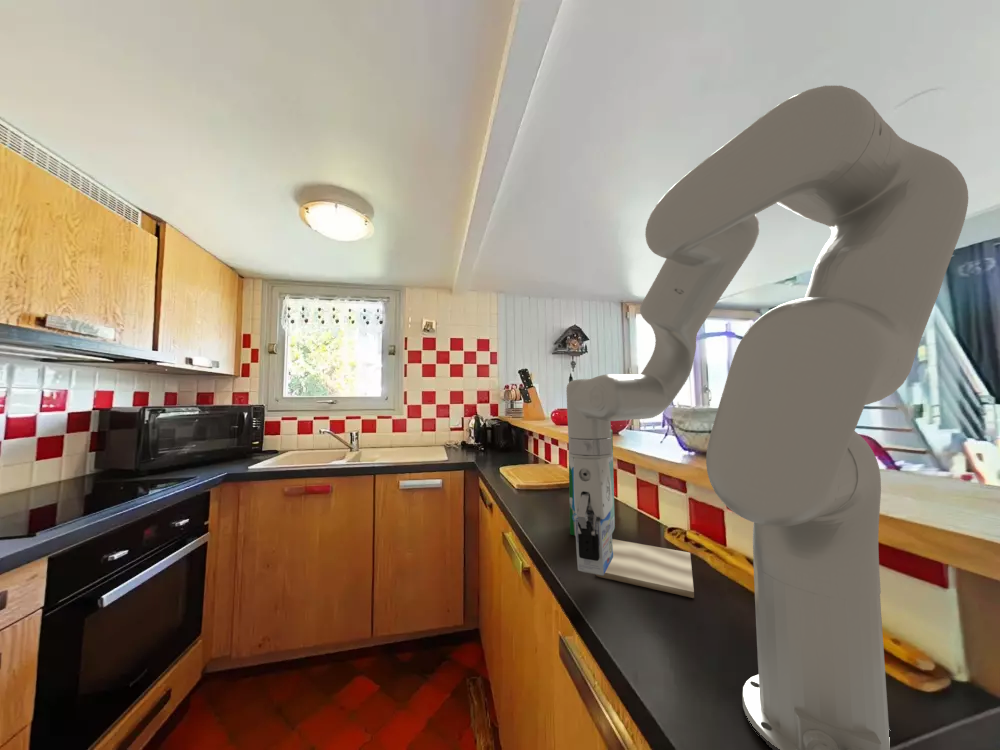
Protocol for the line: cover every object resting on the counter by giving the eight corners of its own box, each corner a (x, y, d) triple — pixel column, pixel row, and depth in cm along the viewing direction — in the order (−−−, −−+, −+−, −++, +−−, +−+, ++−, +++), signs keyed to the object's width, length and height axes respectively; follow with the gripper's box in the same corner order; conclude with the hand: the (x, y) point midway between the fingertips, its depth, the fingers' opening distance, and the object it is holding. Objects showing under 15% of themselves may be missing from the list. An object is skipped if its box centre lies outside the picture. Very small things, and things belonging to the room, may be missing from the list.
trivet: (694, 598, 58) (693, 591, 58) (596, 575, 65) (596, 570, 65) (690, 557, 72) (690, 552, 72) (610, 543, 79) (610, 538, 79)
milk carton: (569, 534, 84) (568, 430, 85) (579, 522, 92) (577, 427, 93) (608, 542, 80) (605, 432, 81) (614, 528, 88) (612, 429, 89)
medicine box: (603, 577, 56) (600, 521, 57) (576, 571, 58) (574, 518, 59) (613, 558, 63) (611, 508, 64) (589, 553, 65) (586, 506, 66)
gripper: (602, 455, 53) (608, 575, 51) (618, 443, 68) (623, 535, 67) (555, 453, 56) (559, 565, 55) (581, 442, 72) (585, 529, 70)
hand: (594, 548), depth 61 cm, fingers closed on medicine box, 8 cm apart
